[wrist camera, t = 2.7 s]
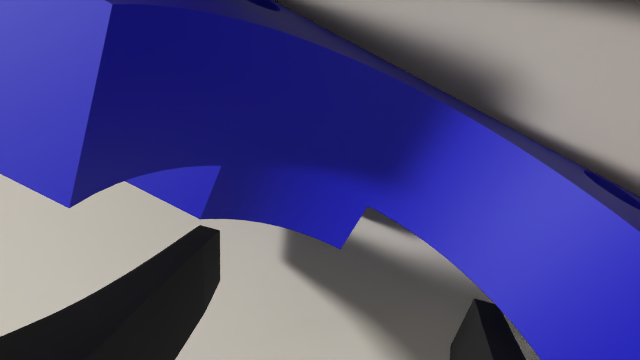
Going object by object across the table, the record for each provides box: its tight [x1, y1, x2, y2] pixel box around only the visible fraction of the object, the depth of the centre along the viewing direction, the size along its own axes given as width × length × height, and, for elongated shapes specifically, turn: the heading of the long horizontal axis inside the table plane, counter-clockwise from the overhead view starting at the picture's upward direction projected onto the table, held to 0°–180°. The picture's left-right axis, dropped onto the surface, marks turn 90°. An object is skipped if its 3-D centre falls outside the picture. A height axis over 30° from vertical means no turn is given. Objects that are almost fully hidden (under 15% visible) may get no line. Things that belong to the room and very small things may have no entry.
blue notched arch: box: [0, 0, 640, 360], centre depth 8 cm, size 12×4×6 cm, turn 66°
